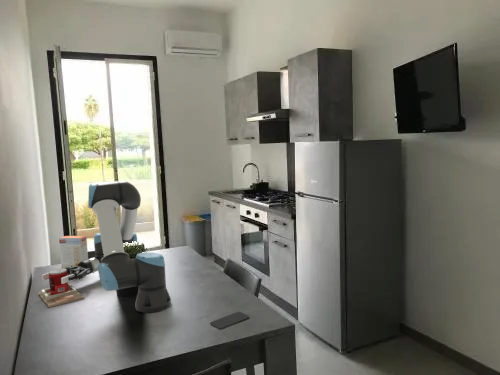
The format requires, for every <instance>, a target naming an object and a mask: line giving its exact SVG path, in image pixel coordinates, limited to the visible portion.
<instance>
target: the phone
mask: <svg viewBox="0 0 500 375" xmlns="http://www.w3.org/2000/svg"><path fill="white" fill-rule="evenodd" d="M248 318H249V319H250V316H249V315H247V313H246V314H245V313H243V312H242V311H237V312H234V313H232V314H228V315H225V316H223V317H221V318H218V319H216V320H213V321H210V322H209V325H210V324H211V325H210V326H212V325H213V326H212V327H213V328H215V327H216V328H215V329H217V328H218V329H217V330H223V329H226V328H228V326H229V327H231V326H233V324H234V325H236V324H239V323H241V322H243V320H244V321H247V320H249V319H248ZM238 322H239V323H238ZM230 325H231V326H230ZM225 327H226V328H225Z"/></svg>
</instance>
